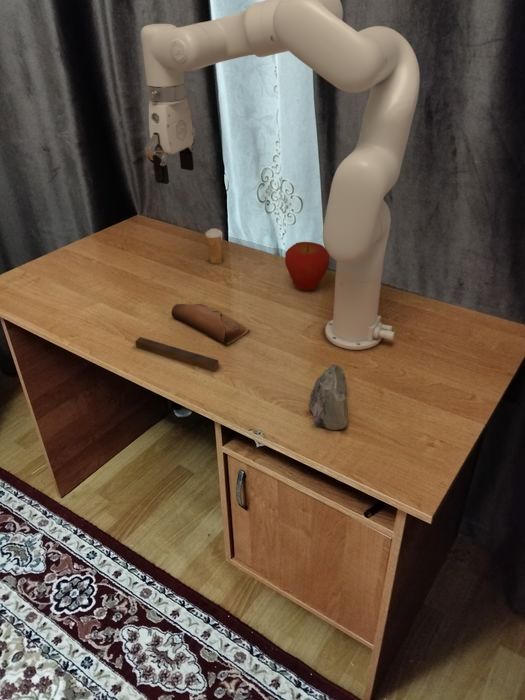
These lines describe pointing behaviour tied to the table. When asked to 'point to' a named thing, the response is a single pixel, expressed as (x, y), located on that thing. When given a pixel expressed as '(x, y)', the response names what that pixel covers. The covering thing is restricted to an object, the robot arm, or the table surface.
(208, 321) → the sunglasses case
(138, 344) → the rail
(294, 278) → the apple
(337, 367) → the mineral rock
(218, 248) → the beer glass
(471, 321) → the table surface
